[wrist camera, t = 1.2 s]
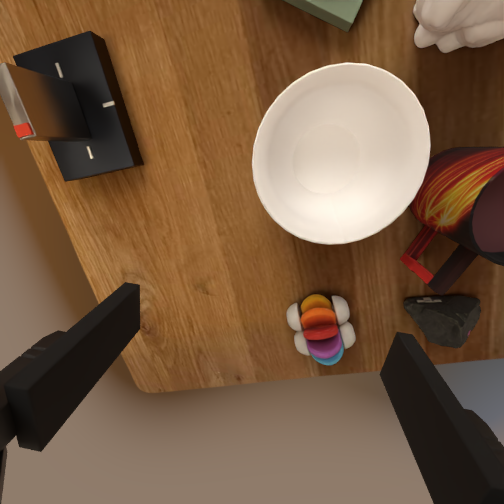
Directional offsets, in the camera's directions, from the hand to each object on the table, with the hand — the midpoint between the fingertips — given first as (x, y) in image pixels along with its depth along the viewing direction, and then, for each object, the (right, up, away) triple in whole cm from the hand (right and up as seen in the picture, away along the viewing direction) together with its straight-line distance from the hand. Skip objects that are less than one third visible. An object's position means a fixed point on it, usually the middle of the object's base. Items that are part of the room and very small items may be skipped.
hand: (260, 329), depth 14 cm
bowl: (+8, +15, +19) cm, 26 cm away
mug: (+23, +9, +20) cm, 32 cm away
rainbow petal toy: (+10, -6, +27) cm, 29 cm away
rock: (+26, -5, +25) cm, 36 cm away
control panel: (-21, +21, +20) cm, 36 cm away
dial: (-21, +20, +18) cm, 34 cm away
